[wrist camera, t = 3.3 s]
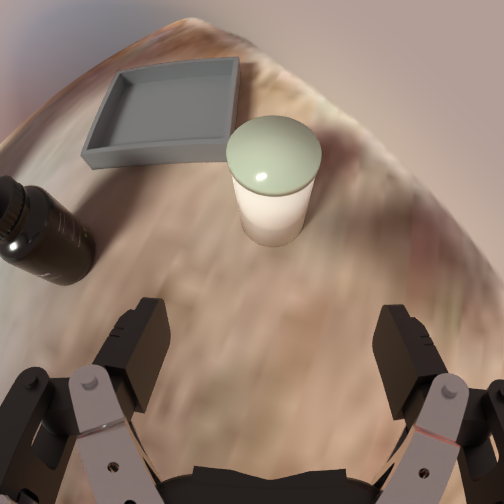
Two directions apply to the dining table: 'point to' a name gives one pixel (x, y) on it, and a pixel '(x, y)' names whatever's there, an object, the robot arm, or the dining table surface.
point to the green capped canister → (273, 176)
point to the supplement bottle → (42, 234)
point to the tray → (166, 114)
